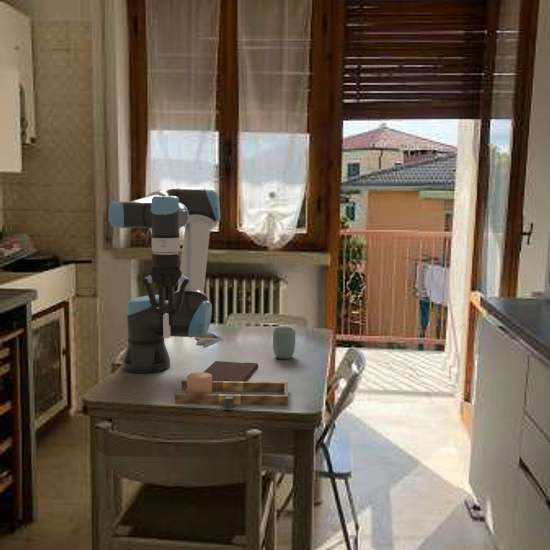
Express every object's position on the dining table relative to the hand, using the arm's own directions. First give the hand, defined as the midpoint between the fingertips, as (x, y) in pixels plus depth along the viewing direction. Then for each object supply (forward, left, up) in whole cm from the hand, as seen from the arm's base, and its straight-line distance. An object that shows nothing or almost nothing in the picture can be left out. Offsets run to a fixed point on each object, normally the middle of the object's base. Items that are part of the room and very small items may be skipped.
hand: (166, 336), depth 169 cm
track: (+19, -1, -17) cm, 25 cm away
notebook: (+15, +20, -18) cm, 31 cm away
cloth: (+3, +64, -18) cm, 67 cm away
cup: (+33, +40, -17) cm, 55 cm away
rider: (+9, 0, -17) cm, 20 cm away
